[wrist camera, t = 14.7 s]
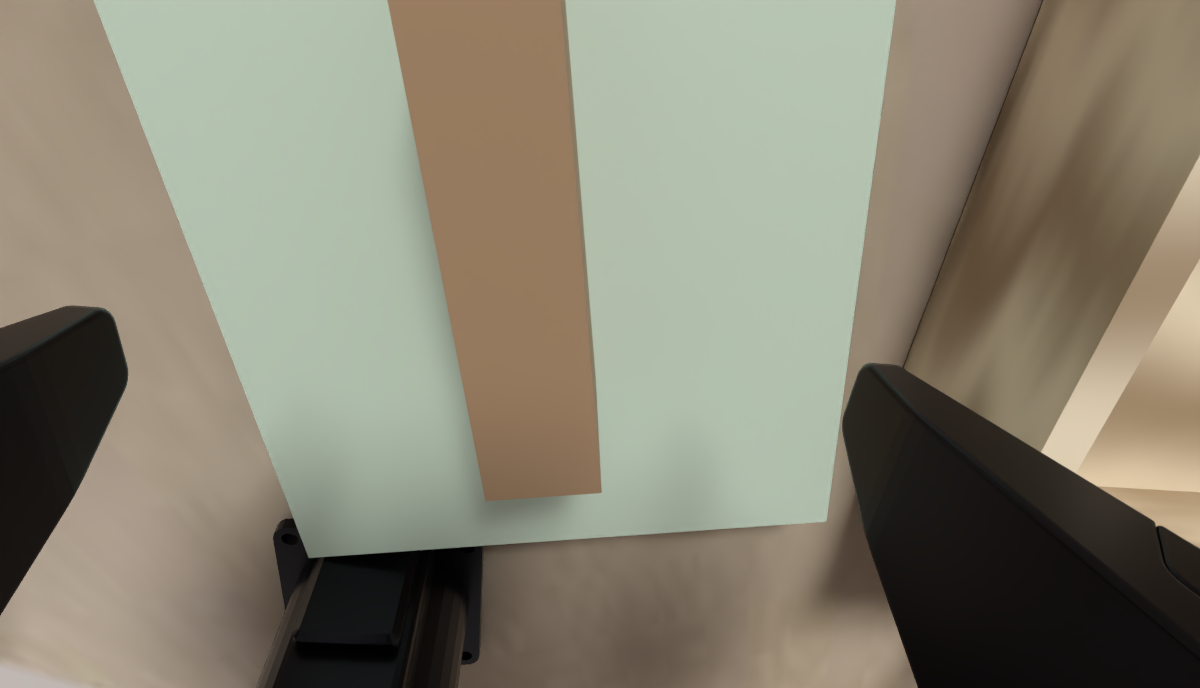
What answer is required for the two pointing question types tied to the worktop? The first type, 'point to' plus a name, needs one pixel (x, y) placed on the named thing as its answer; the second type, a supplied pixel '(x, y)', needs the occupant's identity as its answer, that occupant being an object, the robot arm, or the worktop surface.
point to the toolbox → (1087, 257)
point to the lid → (524, 251)
